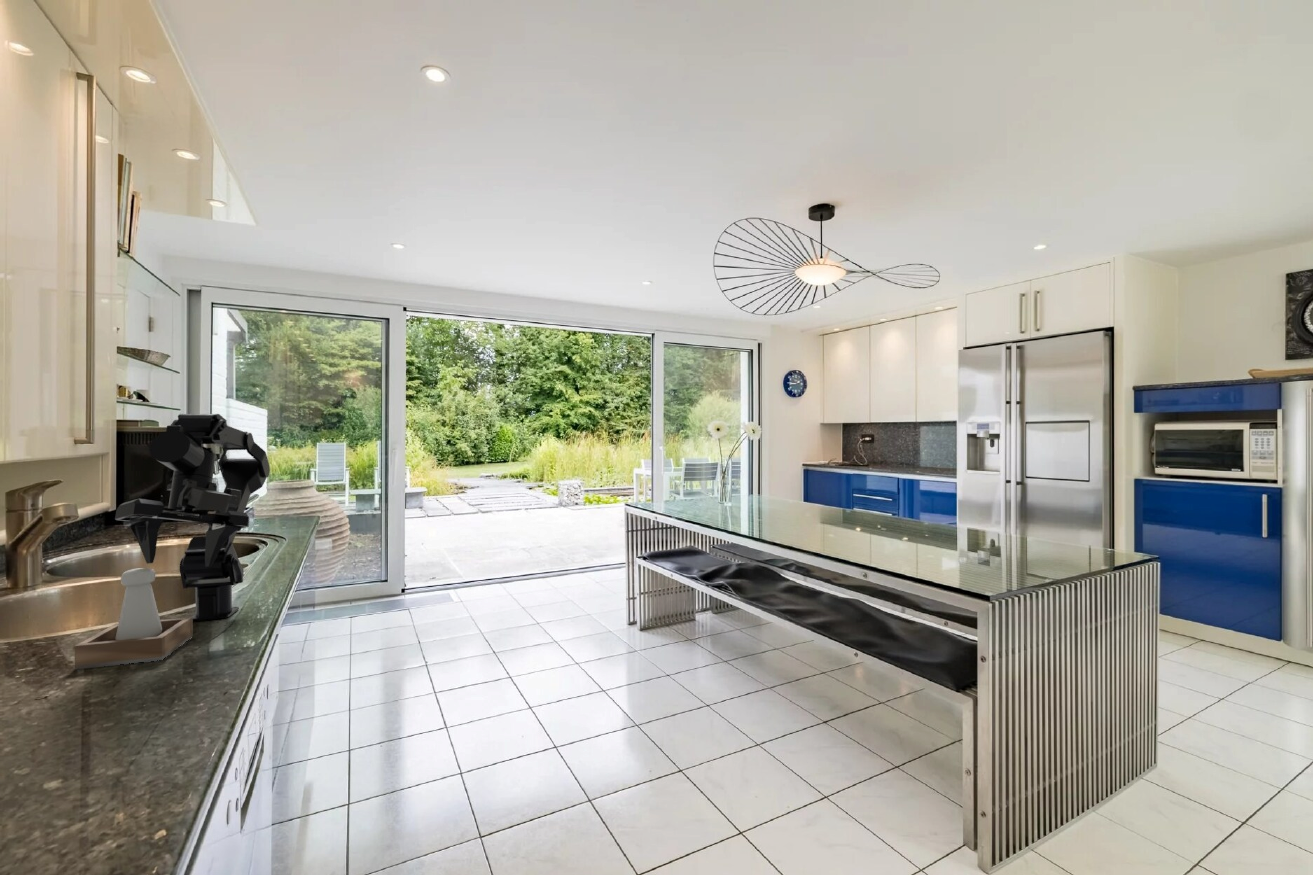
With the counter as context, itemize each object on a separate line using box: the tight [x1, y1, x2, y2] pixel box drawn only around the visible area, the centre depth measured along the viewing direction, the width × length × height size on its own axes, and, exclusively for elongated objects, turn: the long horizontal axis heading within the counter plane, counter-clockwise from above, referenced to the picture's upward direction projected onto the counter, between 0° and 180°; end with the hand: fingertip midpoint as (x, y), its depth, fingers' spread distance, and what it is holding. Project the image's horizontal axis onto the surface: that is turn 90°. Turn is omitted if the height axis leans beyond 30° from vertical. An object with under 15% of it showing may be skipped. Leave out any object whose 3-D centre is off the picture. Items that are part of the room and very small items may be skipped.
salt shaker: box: [115, 567, 162, 640], centre depth 97 cm, size 6×6×13 cm
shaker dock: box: [74, 616, 194, 670], centre depth 96 cm, size 11×11×4 cm
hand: (180, 564), depth 103 cm, fingers open, 9 cm apart
